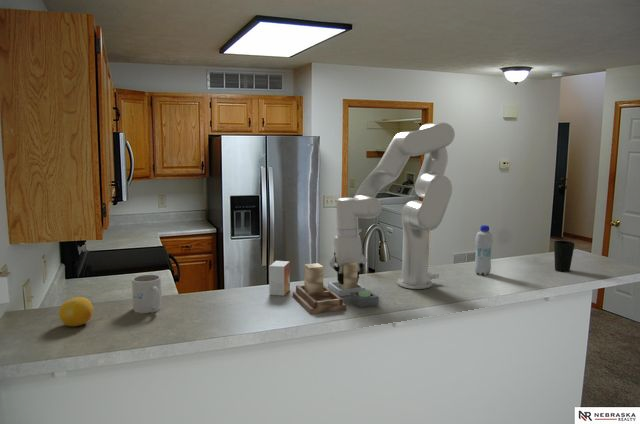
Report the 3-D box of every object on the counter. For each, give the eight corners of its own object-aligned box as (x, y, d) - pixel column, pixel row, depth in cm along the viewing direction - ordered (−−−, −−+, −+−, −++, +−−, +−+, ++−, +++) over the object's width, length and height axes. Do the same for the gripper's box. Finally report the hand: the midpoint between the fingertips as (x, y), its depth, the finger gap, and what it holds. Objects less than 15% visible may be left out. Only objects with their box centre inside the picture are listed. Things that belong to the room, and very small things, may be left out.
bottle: (476, 270, 205) (479, 223, 202) (493, 273, 202) (495, 225, 199) (471, 274, 200) (473, 225, 197) (487, 276, 196) (490, 227, 193)
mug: (130, 307, 159) (129, 276, 158) (158, 302, 164) (156, 273, 162) (139, 318, 149) (137, 286, 148) (168, 313, 154) (167, 282, 152)
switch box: (369, 298, 168) (369, 290, 168) (378, 305, 162) (378, 296, 161) (350, 301, 166) (350, 292, 166) (359, 307, 159) (359, 298, 159)
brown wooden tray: (324, 292, 176) (324, 282, 175) (346, 309, 158) (346, 298, 157) (292, 295, 171) (292, 286, 171) (310, 313, 154) (310, 303, 153)
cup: (576, 273, 203) (578, 244, 201) (557, 272, 203) (559, 244, 201) (567, 268, 210) (569, 240, 208) (548, 268, 210) (550, 240, 208)
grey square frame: (352, 285, 184) (352, 279, 184) (364, 293, 175) (365, 287, 174) (328, 287, 181) (328, 282, 181) (339, 296, 171) (339, 290, 171)
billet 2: (351, 285, 181) (351, 259, 180) (357, 289, 176) (357, 262, 175) (339, 287, 179) (338, 260, 178) (344, 291, 175) (344, 264, 173)
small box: (284, 296, 171) (284, 266, 169) (268, 295, 172) (268, 265, 171) (290, 289, 179) (290, 261, 177) (275, 288, 180) (275, 260, 178)
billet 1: (318, 291, 172) (318, 263, 170) (323, 295, 167) (323, 266, 166) (304, 292, 170) (304, 264, 169) (309, 297, 165) (309, 267, 164)
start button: (367, 298, 166) (367, 289, 166) (372, 302, 163) (372, 293, 162) (356, 299, 165) (356, 290, 165) (361, 303, 161) (361, 294, 161)
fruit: (59, 332, 139) (57, 304, 137) (61, 322, 146) (59, 296, 145) (93, 327, 142) (91, 300, 141) (94, 318, 149) (92, 292, 148)
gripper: (364, 228, 181) (365, 277, 184) (321, 233, 175) (322, 282, 178) (374, 232, 174) (374, 282, 177) (329, 236, 168) (330, 288, 171)
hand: (348, 281), depth 178 cm, fingers closed on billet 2, 5 cm apart
